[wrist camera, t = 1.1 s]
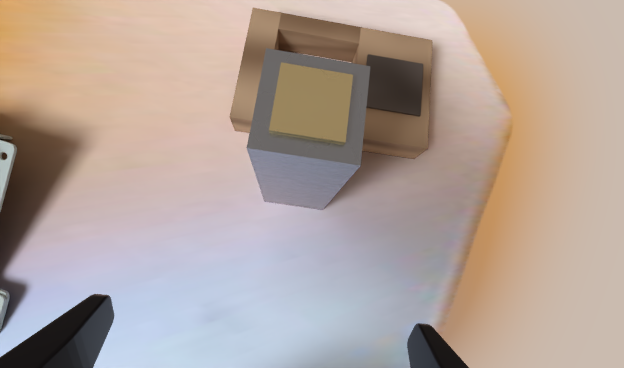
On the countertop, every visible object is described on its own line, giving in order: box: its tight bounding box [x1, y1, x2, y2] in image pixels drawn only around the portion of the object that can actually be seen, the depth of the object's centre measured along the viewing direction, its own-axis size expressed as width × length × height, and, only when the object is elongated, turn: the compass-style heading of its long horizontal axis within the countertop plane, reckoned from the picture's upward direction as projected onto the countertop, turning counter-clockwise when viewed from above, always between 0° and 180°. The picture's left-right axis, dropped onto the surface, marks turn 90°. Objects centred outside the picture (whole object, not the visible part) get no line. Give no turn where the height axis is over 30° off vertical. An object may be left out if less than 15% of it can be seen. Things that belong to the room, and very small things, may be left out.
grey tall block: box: [247, 48, 370, 210], centre depth 18 cm, size 4×4×12 cm
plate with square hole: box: [230, 8, 432, 159], centre depth 25 cm, size 10×15×3 cm, turn 83°
